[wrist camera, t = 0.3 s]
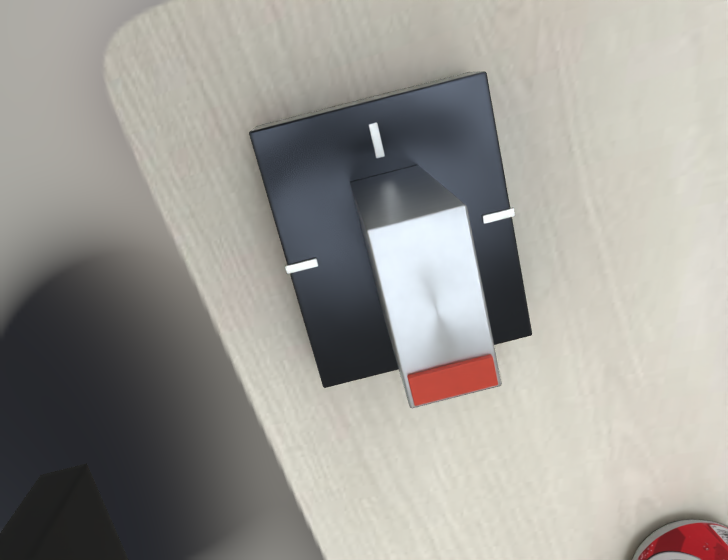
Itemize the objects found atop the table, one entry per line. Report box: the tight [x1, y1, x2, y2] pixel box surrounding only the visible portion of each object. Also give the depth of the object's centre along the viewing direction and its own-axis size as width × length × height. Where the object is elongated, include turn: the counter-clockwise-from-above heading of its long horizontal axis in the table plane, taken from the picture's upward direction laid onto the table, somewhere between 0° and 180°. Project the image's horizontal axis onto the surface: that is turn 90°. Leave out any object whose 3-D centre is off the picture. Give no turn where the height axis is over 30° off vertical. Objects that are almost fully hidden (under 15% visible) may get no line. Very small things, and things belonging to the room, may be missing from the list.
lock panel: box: [249, 72, 532, 388], centre depth 30 cm, size 12×10×3 cm
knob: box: [350, 165, 501, 408], centre depth 24 cm, size 6×3×9 cm, turn 14°
